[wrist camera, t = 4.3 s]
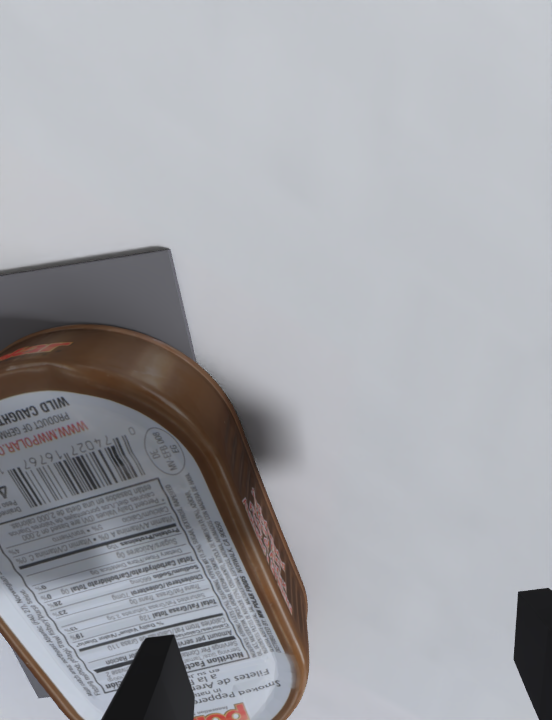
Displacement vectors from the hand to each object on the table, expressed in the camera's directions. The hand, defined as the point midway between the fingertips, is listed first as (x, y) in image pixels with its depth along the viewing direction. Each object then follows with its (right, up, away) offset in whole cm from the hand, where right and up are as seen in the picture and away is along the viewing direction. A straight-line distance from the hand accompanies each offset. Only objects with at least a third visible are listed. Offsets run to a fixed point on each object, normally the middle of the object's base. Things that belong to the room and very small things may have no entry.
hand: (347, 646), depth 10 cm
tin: (-1, +1, +3) cm, 4 cm away
